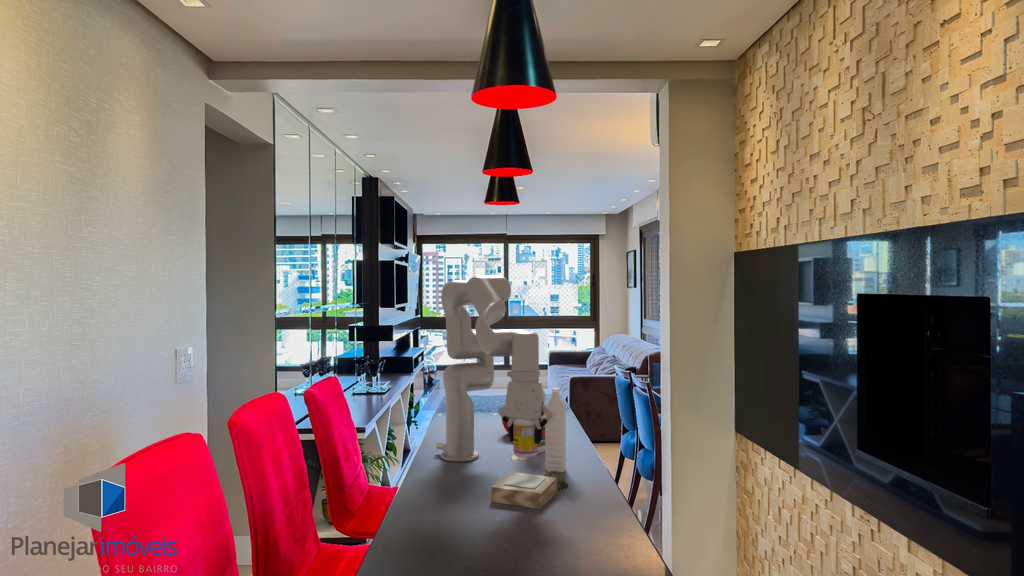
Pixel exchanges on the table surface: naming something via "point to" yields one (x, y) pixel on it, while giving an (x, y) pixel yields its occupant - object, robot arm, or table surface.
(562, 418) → the water bottle
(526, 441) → the supplement bottle
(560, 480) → the seashell
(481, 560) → the table surface
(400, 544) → the table surface
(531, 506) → the plinth
